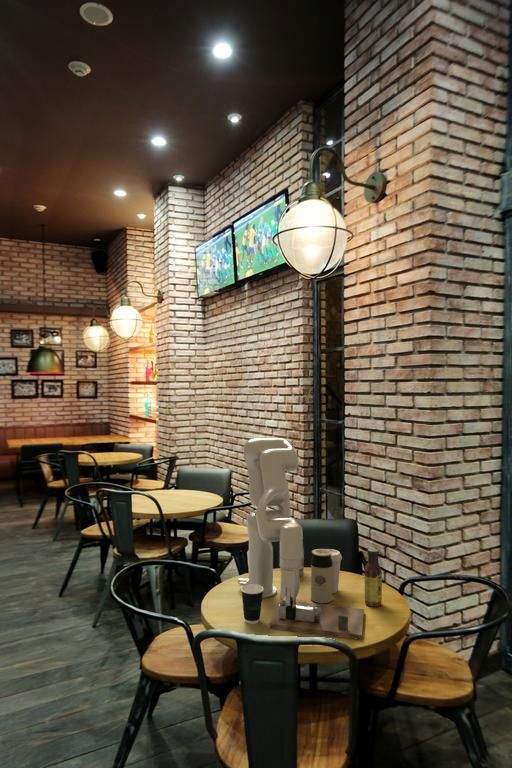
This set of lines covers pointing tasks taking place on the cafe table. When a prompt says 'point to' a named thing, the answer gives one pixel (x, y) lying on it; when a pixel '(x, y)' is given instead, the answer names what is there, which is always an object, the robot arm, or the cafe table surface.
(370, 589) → the sauce bottle
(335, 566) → the coffee cup
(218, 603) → the cafe table surface
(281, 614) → the bar
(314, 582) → the travel mug
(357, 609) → the jamb plate
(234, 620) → the cafe table surface
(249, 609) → the dixie cup
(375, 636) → the cafe table surface
